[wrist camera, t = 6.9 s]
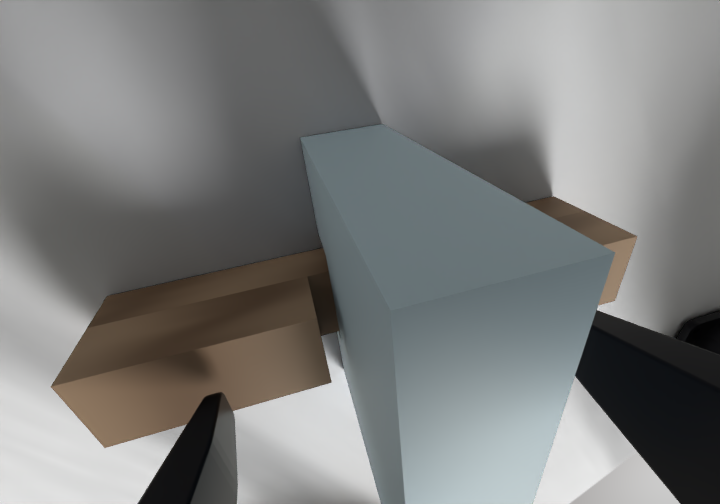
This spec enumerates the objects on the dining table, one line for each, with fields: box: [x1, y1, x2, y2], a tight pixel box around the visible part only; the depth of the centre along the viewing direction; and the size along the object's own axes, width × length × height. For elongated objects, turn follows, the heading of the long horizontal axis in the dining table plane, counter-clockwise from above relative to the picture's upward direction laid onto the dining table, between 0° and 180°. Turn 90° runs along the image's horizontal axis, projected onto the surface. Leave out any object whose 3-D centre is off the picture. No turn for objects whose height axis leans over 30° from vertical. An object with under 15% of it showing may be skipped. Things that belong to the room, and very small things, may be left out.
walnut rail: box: [51, 196, 637, 448], centre depth 11 cm, size 16×2×4 cm, turn 96°
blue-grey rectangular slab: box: [300, 124, 615, 504], centre depth 9 cm, size 10×2×8 cm, turn 6°
